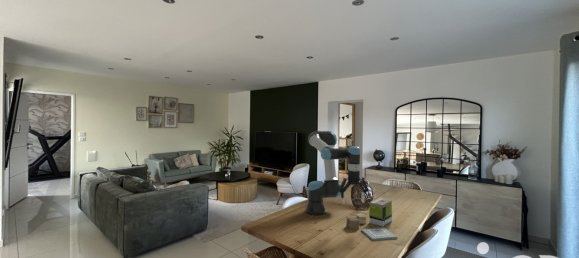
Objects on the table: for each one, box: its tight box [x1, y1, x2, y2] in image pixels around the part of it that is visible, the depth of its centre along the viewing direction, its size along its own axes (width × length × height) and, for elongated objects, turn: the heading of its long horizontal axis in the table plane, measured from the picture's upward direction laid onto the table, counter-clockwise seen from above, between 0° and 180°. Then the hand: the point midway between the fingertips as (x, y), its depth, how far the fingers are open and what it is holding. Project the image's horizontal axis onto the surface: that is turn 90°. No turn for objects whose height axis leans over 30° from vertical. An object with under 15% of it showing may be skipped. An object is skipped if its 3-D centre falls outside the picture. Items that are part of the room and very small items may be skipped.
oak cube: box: [355, 213, 367, 225], centre depth 175 cm, size 5×5×5 cm
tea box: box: [368, 197, 393, 227], centre depth 176 cm, size 15×10×15 cm
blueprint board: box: [360, 226, 398, 241], centre depth 155 cm, size 14×16×1 cm
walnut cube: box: [345, 216, 360, 231], centre depth 166 cm, size 6×6×6 cm
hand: (353, 202), depth 165 cm, fingers open, 13 cm apart
